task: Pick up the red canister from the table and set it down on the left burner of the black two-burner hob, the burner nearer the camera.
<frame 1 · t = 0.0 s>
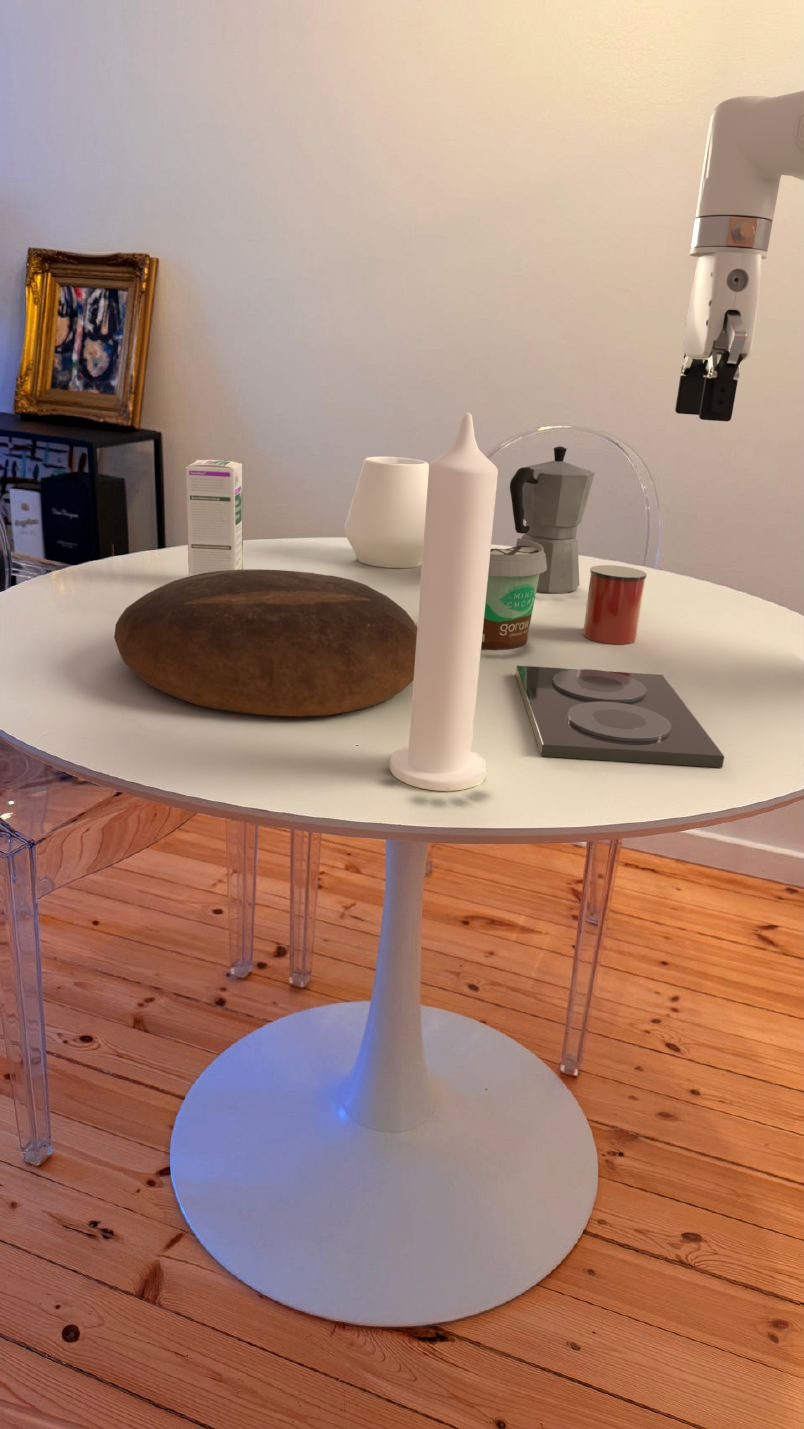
hand: (701, 417, 106), 24 cm above the table, tool pointing down, fingers open, 9 cm apart
white vase: (390, 562, 140), on the table
hob: (607, 716, 85), on the table
red canister: (609, 636, 110), on the table
candle: (437, 773, 72), on the table
coffeepot: (539, 587, 131), on the table
food container: (505, 644, 105), on the table
syrup box: (215, 584, 121), on the table
bread: (270, 671, 91), on the table
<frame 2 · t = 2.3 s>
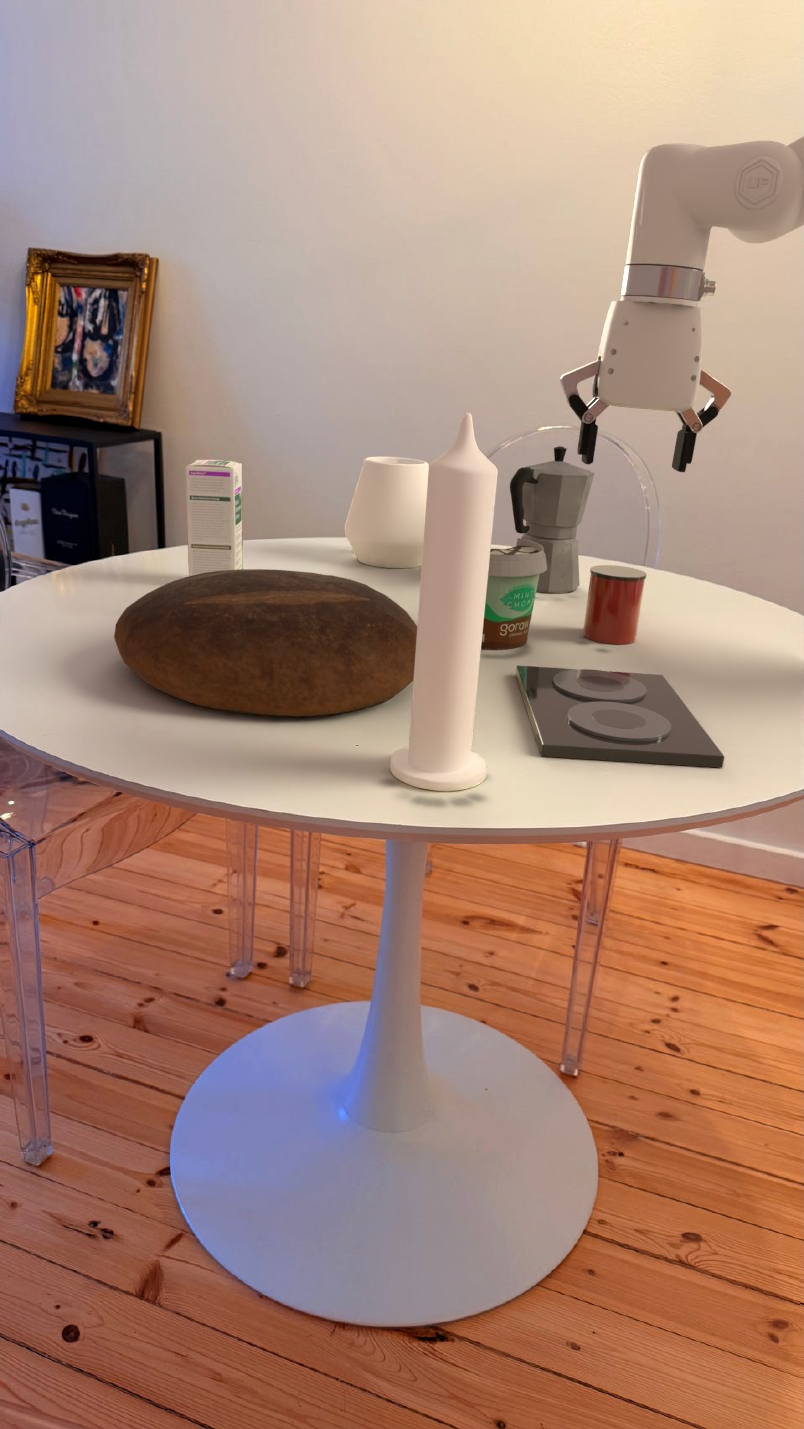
hand: (632, 466, 104), 18 cm above the table, tool pointing down, fingers open, 9 cm apart
nothing on the table moved.
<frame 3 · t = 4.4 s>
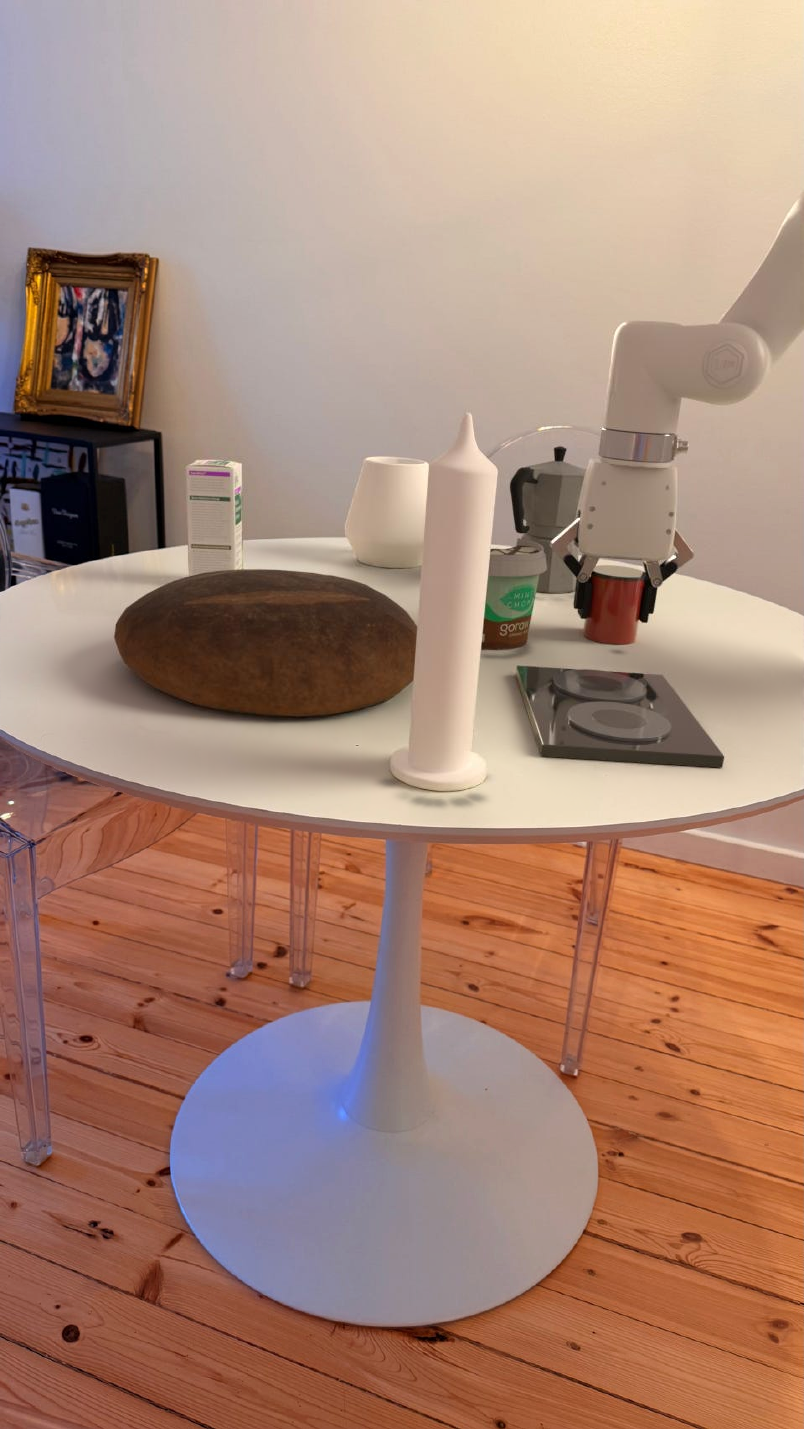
hand: (612, 616, 109), 2 cm above the table, tool pointing down, fingers closed on red canister, 5 cm apart
red canister: (609, 636, 110), on the table, touching gripper
everything else where it was.
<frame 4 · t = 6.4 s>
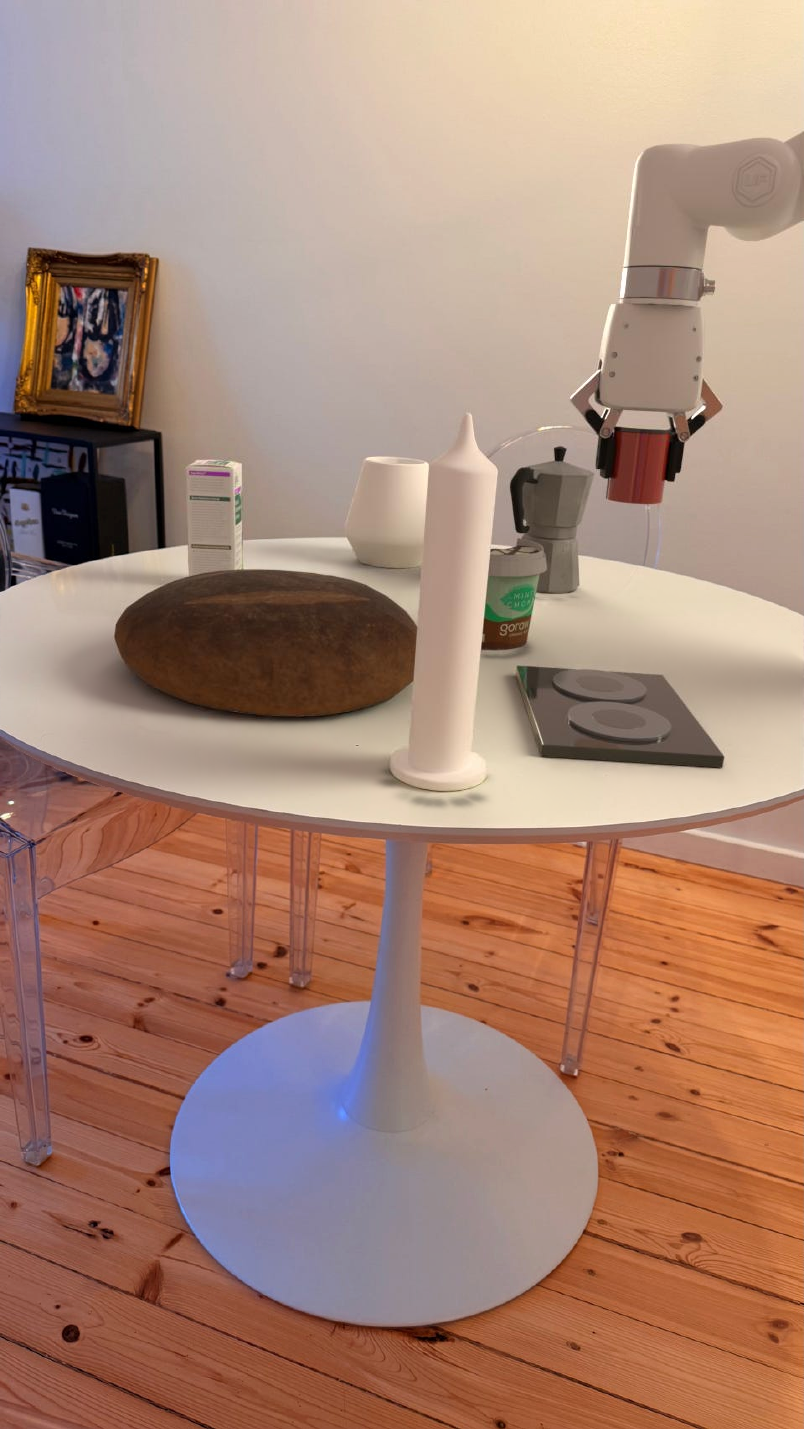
hand: (636, 477, 103), 17 cm above the table, tool pointing down, fingers closed on red canister, 5 cm apart
red canister: (633, 500, 104), point 15 cm above the table, touching gripper
everything else where it was.
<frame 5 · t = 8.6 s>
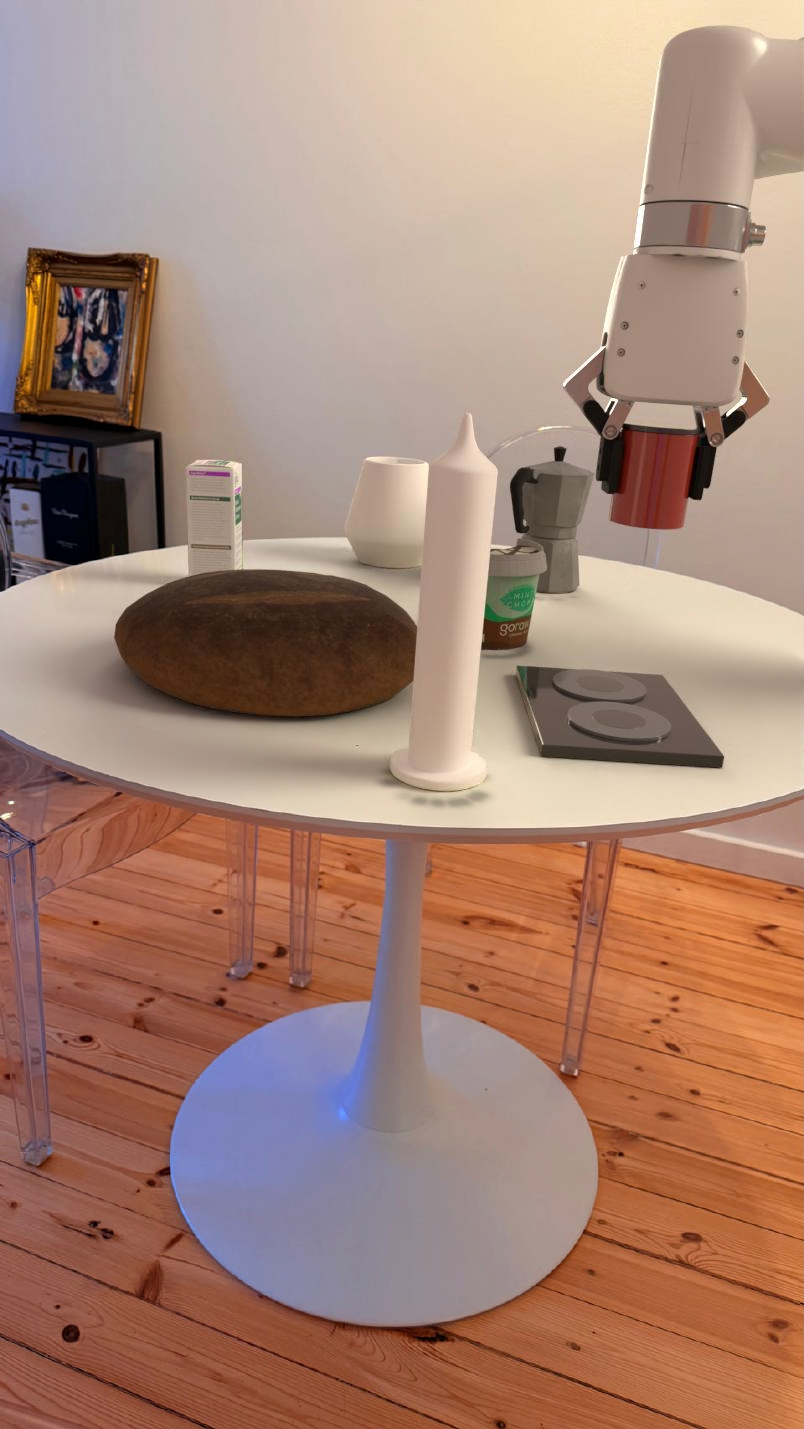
hand: (650, 492, 77), 19 cm above the table, tool pointing down, fingers closed on red canister, 5 cm apart
red canister: (645, 523, 78), point 17 cm above the table, touching gripper
everything else where it was.
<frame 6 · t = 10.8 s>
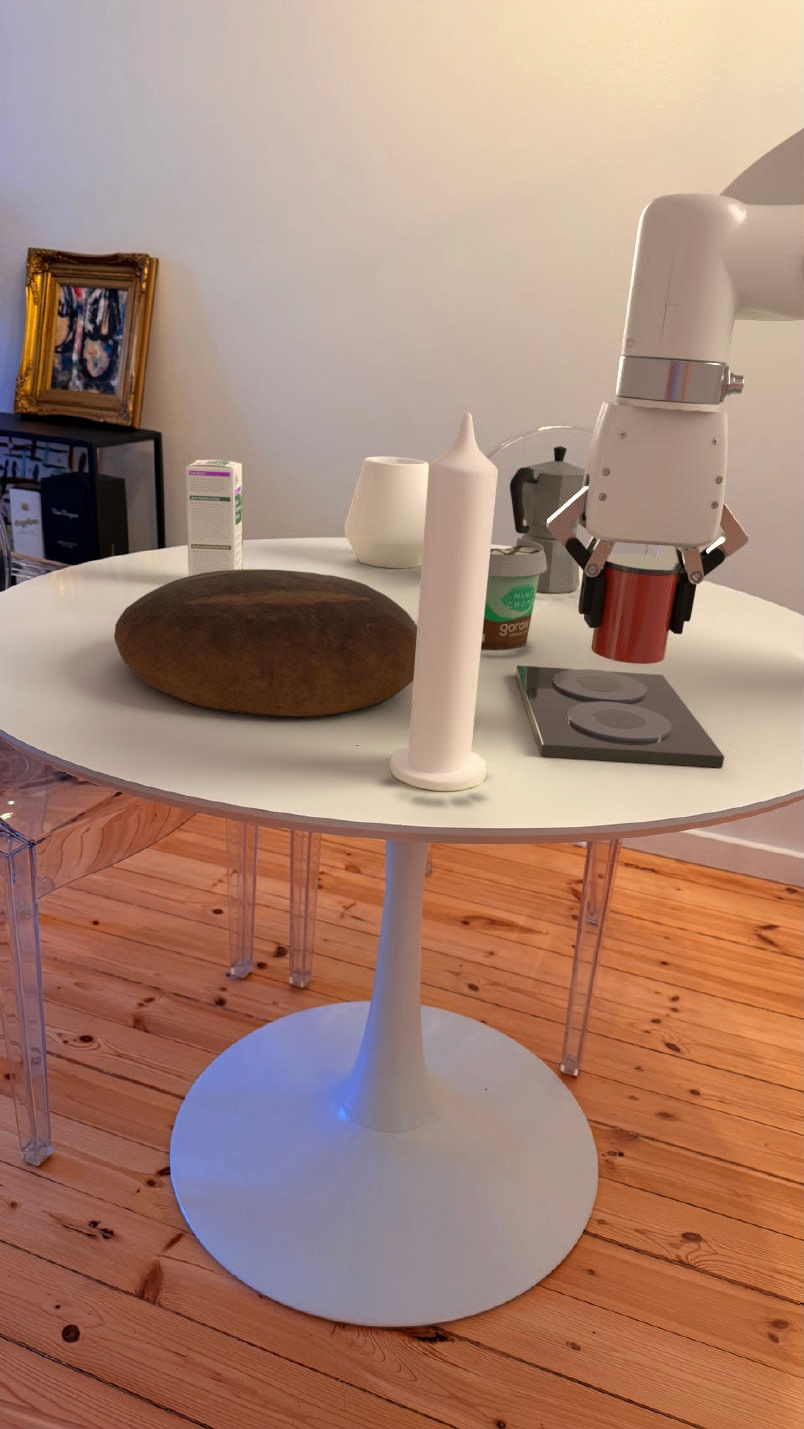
hand: (632, 624, 78), 9 cm above the table, tool pointing down, fingers closed on red canister, 5 cm apart
red canister: (627, 652, 79), point 7 cm above the table, touching gripper
everything else where it was.
when the fingers open (4 cm above the table, at t = 12.6 s): red canister stays where it is, resting on hob.
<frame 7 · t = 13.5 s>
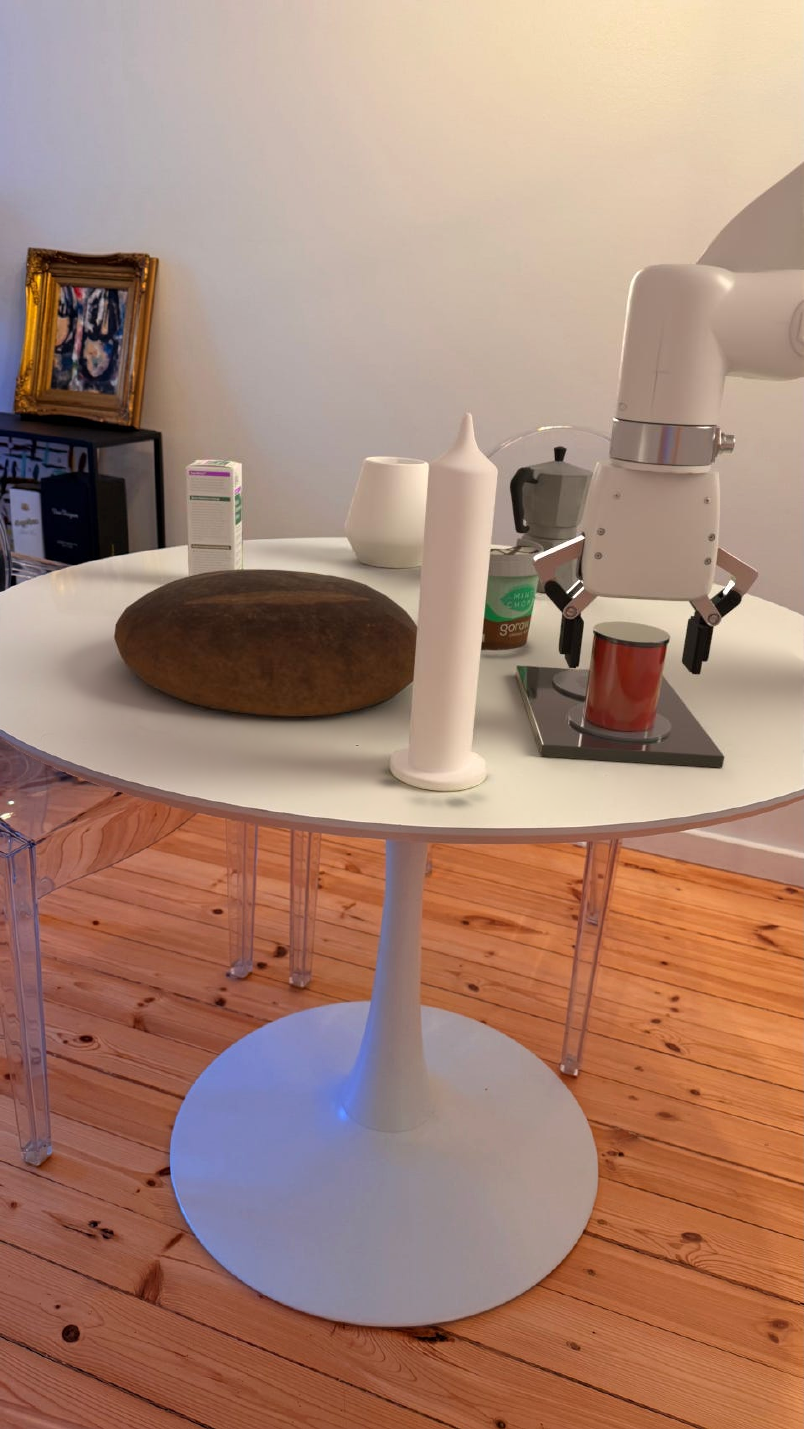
hand: (630, 666, 80), 6 cm above the table, tool pointing down, fingers open, 9 cm apart
red canister: (618, 718, 81), point 1 cm above the table, touching hob
everything else where it was.
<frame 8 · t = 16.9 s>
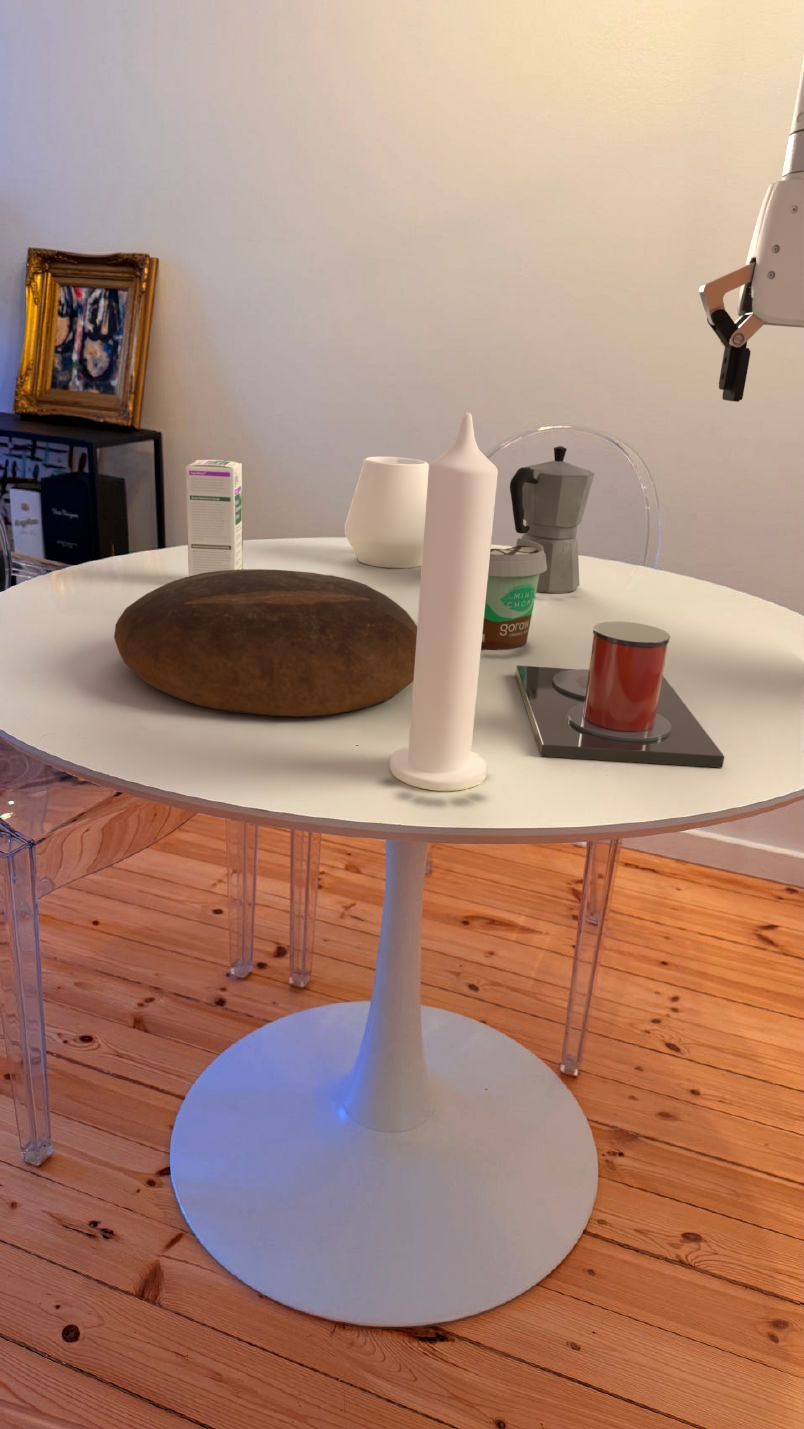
hand: (790, 404, 80), 26 cm above the table, tool pointing down, fingers open, 9 cm apart
nothing on the table moved.
at the end: red canister 0.0 cm from the target spot on the hob, point 1.3 cm above the hob's base; red canister tilted 0°; the gripper is holding nothing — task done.
